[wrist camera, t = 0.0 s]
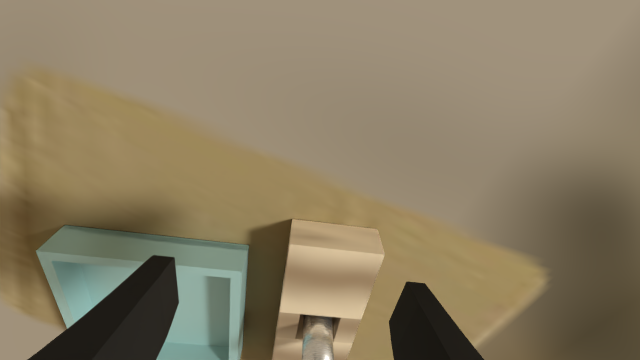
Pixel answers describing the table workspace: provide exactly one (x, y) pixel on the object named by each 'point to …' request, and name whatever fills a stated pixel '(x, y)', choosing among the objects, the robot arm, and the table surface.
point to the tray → (192, 280)
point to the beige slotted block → (326, 283)
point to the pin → (317, 338)
